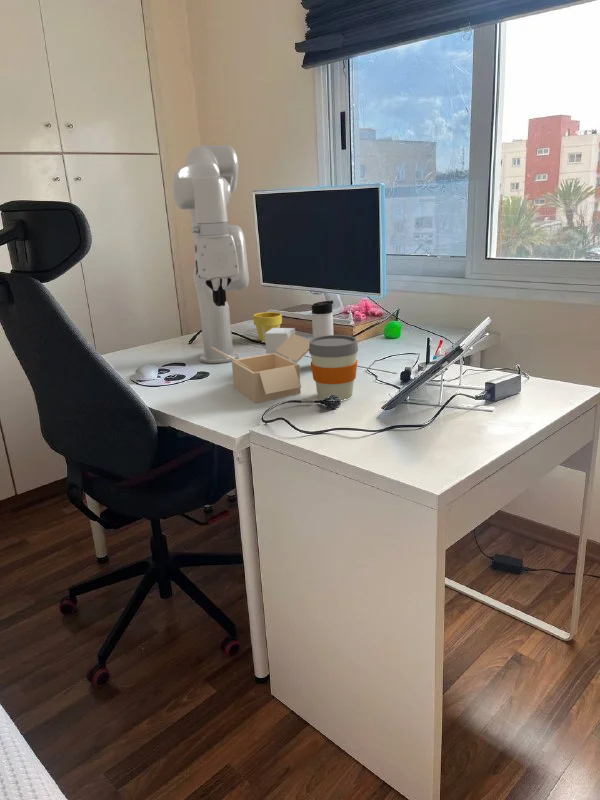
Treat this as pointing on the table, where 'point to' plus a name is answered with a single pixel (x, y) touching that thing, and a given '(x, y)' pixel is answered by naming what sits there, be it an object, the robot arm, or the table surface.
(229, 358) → the flap
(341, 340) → the reusable coffee cup
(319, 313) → the travel mug
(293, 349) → the flap
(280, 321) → the plant pot
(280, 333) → the supplement box
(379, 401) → the table surface
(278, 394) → the carton
